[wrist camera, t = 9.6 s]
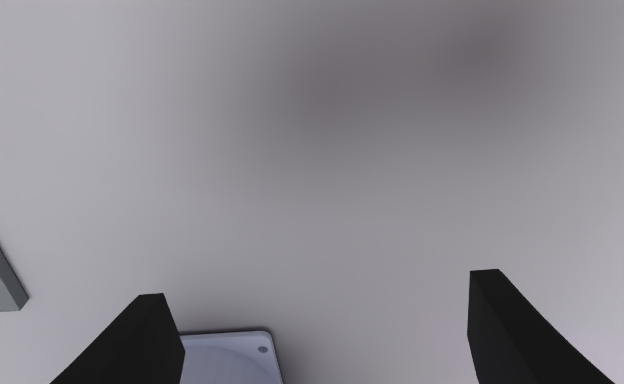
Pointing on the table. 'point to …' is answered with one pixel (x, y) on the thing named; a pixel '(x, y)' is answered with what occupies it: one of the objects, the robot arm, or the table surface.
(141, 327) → the robot arm
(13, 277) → the slate mat
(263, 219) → the table surface
